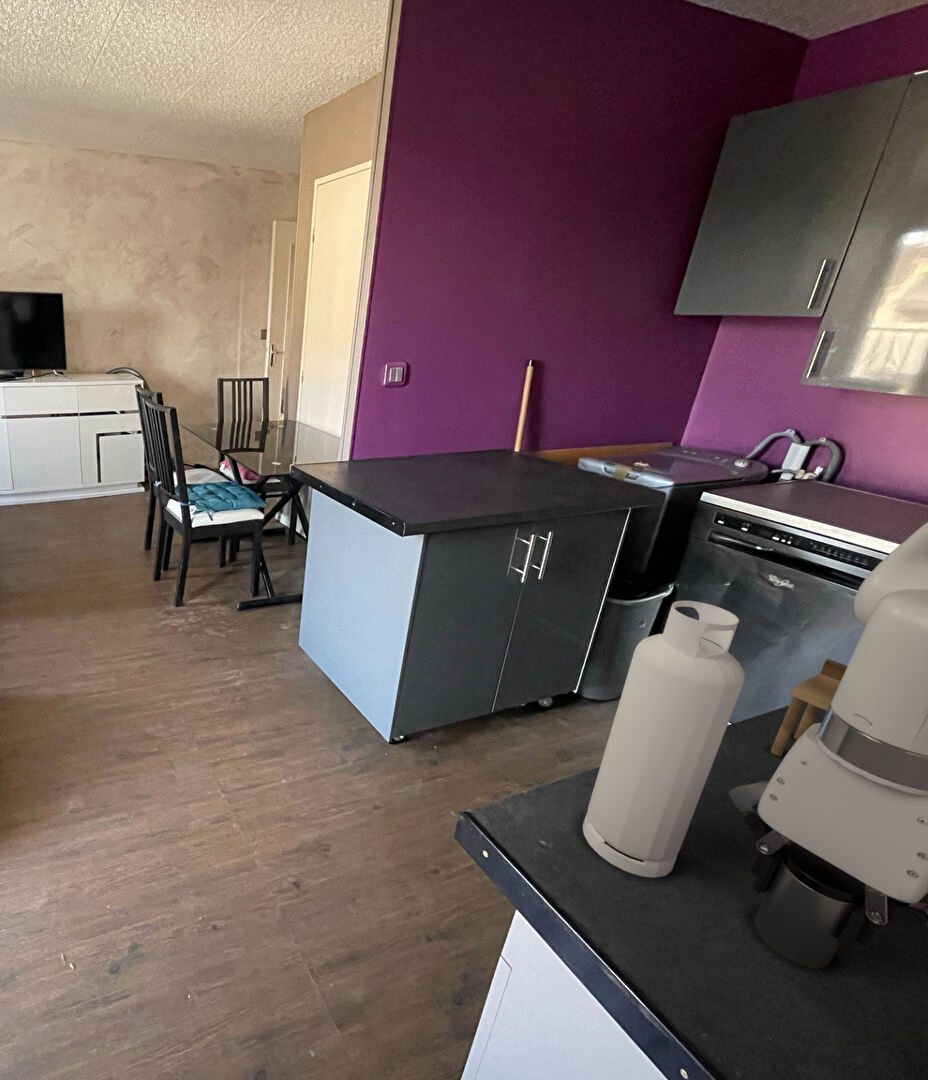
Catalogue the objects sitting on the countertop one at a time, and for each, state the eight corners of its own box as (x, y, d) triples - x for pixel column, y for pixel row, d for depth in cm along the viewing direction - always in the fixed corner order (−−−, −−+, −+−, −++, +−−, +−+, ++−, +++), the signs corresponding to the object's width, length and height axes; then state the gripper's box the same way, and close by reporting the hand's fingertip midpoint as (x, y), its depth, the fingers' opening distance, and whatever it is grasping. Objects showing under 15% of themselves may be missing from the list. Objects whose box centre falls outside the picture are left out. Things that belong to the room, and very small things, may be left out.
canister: (769, 904, 56) (803, 834, 52) (841, 953, 51) (882, 880, 48) (741, 927, 54) (774, 855, 50) (813, 980, 49) (855, 905, 46)
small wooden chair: (794, 734, 78) (828, 658, 74) (862, 766, 73) (902, 686, 69) (766, 752, 75) (799, 673, 71) (834, 786, 70) (874, 703, 66)
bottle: (636, 813, 66) (711, 592, 56) (693, 877, 58) (791, 634, 48) (566, 815, 66) (629, 593, 56) (614, 879, 58) (696, 635, 48)
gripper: (1093, 807, 39) (968, 985, 46) (775, 677, 53) (714, 826, 60) (1059, 848, 36) (931, 1033, 43) (731, 698, 50) (673, 853, 57)
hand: (805, 910), depth 51 cm, fingers closed on canister, 5 cm apart
